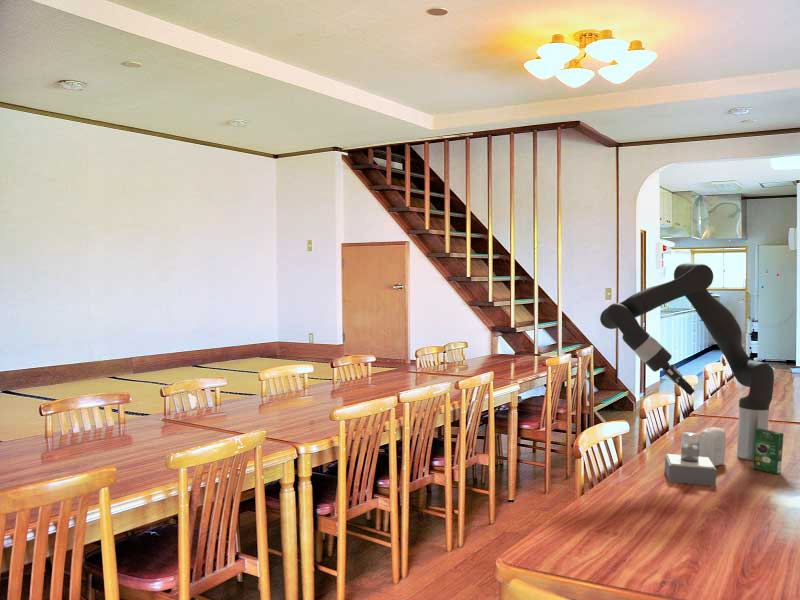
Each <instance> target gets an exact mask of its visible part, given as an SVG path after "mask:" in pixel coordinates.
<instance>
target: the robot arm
mask: <svg viewBox="0 0 800 600" xmlns="http://www.w3.org/2000/svg"><path fill="white" fill-rule="evenodd" d="M713 281H714V272H713V270H712V268H711V267H710V266H708V265H707V264H703V263H699V262H693V263H692V262H684V263H681V264H678V265H677V266H676V268H675V269H674V272H673V280H670V281H668V282H664V283H661V284H657V285H655V286H651V287H648V288H645V289H643V290H641V291H638V292H637V293H634V294H632V295H631V296H629V297H628V298H626V299H625V300H623V301H621V302H619V303H618V302H615V303H614V302H613V303H612V304H610V305H609V306H608V307H606V308H605V309H604V310H603V311H602V312H601V314H600V315H599V317H600V319H599V321H600V323H601V325H602V326H603V327H604V328H605V329H609V330H615V329H617V328H618V330H619V331H620V332H621V333H622V336H621V337H622V340H623V342H624V343H625V344H626V345H627V346H628V347H629V348H630V349H631V350H632V351H633V352H634V353H635V354H636V355H637V357H638V358H639V359H640V360H641V361H642V362H643V363H644V364H645V365H647V367H648V368H649V369H650V370H651V371H653V372H655V373H656V372H658V371H659V370H661V369H662V370H663V371H662V373H663V375H665V376H666V378H669V379H670V381H671V382H672V383H673V384H676V385H677V386H678V387H680V389H682V390H683V391H684V392H685V393H686V394H687V395H688V396H691V395H693V393H695V391H696V390H695V389H694V388H693V387H692V386H691V384H690V383H689V382H688V381H687V380H686V379H685V378H683V375H682V374H681V371H679V370H678V368H677V367H676V366H675V365H674V363H672V364H670V361H671V360H672V356H673V355H672V354H671V353H670V352H669V351H668V350H667V349H666V348H665V347H664V346H663V345H662V344H661V343H659V341H658V340H657V339H655V338H654V337H653V336H651V334H650V333H648V331H646V330H645V329H644V328H643V326H641V325H640V323H639V321H638V320H637V317H641V316H642V315H644V314H647V313H650V312H651V311H653V310H655V309H657V308H659V307H660V306H663V305H665V304H668V303H670V302H673V301H674V300H677V299H679V298H682V297H685V298H686V299H687V300H688V301H689V303H690V304H691V306H692V307H693V308H694V310H695V312H696V313H697V315H698V316H699V318H700V321H702V323H703V324H704V326H705V328H706V330H707V331H708V332H709V334H710V336H711V337H712V339H713V340H714V342H715V343H716V345H717V346H718V348H719V350H720V351H721V353H722V354H723V356H724V357H725V360H726V361H727V364H728V365H729V369H731V371H732V374H733V376H734V378H735V379H736V381H737V382H738V383H739V384H740V385H741V386H743V387H748V388H749V392H748V395H747V396H744V397H741V398H739V400H738V422H737V423H738V424H737V448H736V449H737V451H736V456H737V458H740V459H742V460H749V461H754V447H755V432H756V429H758V428H761V429H765V430H769V420H770V417H769V416H770V414H769V413H770V404H771V402H772V400H773V396H774V395H773V393H774V385H775V372H774V369H773V367H772V366H771V365H770V364H769V363H767V362H763V361H757V360H753V359H751V358H750V357H749V355H748V354H747V353H746V351H745V350H744V347H743V345H742V338H743V336H742V334H743V333H742V330H741V329H742V328H741V326H740V324H739V322H738V321H737V320H736V317H735V316H734V315H733V313H732V312H731V311H730V310H729V309H728V308H727V307H726V306H725V305H724V304H722V303H721V302H720V301H719V300H718V299H717V298H715V297H714V296H713V295H712V294H711V293H710V292H709V290H708V288H710V286H711V285H712V283H713Z"/></svg>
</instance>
